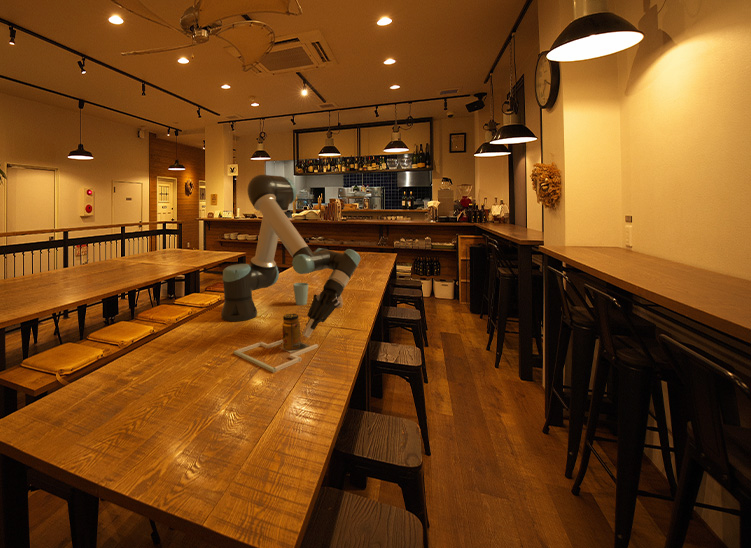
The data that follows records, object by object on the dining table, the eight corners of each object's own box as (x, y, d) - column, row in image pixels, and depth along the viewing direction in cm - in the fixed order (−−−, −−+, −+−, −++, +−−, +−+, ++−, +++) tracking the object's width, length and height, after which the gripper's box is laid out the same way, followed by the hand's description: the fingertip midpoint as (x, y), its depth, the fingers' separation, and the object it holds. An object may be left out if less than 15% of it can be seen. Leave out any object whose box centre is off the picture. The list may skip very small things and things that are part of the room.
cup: (310, 304, 180) (310, 285, 178) (295, 306, 177) (294, 286, 175) (307, 301, 187) (306, 282, 185) (292, 302, 184) (291, 283, 182)
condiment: (278, 347, 125) (276, 315, 123) (297, 341, 132) (296, 310, 129) (290, 353, 121) (289, 320, 118) (310, 346, 127) (309, 314, 125)
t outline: (233, 353, 120) (233, 351, 119) (286, 335, 137) (286, 333, 137) (273, 372, 106) (273, 369, 106) (325, 350, 123) (325, 347, 123)
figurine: (329, 304, 181) (328, 281, 179) (343, 304, 181) (342, 281, 179) (328, 308, 174) (328, 284, 172) (342, 308, 174) (342, 284, 172)
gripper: (352, 291, 138) (322, 344, 128) (329, 286, 145) (299, 336, 136) (343, 280, 132) (311, 335, 123) (319, 276, 140) (287, 327, 130)
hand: (305, 335), depth 129 cm, fingers closed
